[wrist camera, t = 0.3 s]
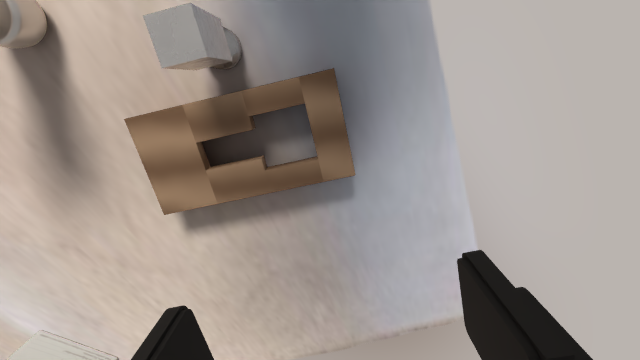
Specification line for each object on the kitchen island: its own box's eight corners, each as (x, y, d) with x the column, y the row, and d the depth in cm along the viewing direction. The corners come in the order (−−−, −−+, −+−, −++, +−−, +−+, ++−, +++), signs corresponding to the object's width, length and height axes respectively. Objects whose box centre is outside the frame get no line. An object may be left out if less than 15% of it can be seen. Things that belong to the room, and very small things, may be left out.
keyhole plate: (144, 115, 38) (124, 119, 35) (333, 69, 36) (333, 68, 32) (179, 202, 42) (164, 214, 38) (352, 165, 40) (355, 175, 36)
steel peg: (198, 33, 35) (139, 13, 24) (235, 23, 35) (191, -1, 24) (211, 73, 37) (160, 71, 26) (246, 64, 36) (210, 58, 25)
